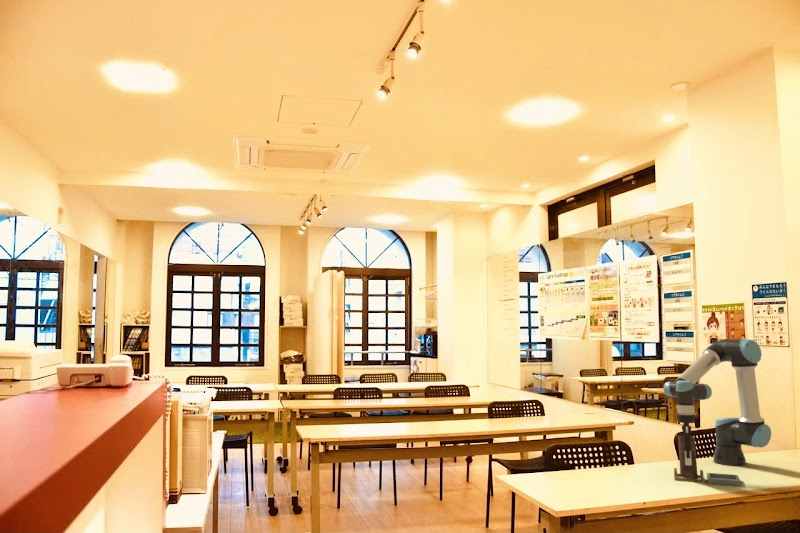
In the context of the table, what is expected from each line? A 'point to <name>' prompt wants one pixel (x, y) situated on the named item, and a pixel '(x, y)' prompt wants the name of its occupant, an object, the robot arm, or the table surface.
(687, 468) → the dark brown tall block
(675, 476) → the cradle
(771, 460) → the table surface
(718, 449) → the robot arm
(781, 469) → the table surface
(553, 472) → the table surface
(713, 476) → the tray
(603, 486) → the table surface
